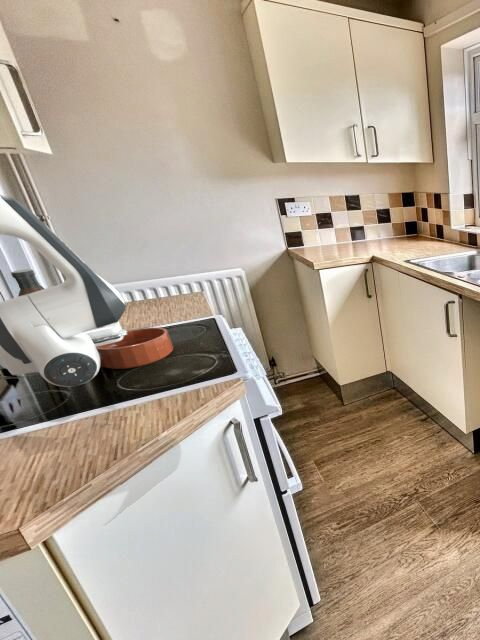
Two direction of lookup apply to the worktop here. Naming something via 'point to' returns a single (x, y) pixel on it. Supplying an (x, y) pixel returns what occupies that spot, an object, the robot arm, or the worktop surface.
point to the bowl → (136, 349)
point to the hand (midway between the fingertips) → (60, 332)
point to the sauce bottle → (26, 281)
